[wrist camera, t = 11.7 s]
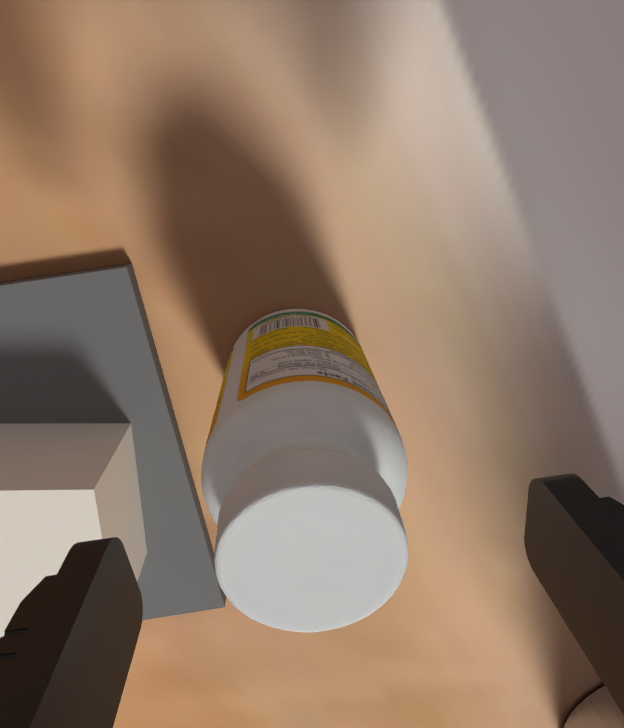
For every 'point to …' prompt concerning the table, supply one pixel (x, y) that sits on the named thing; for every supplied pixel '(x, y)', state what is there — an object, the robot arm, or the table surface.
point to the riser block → (63, 500)
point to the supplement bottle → (304, 477)
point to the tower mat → (111, 411)
